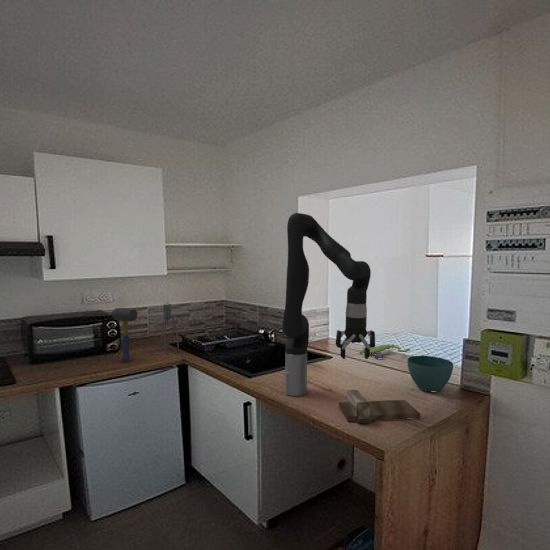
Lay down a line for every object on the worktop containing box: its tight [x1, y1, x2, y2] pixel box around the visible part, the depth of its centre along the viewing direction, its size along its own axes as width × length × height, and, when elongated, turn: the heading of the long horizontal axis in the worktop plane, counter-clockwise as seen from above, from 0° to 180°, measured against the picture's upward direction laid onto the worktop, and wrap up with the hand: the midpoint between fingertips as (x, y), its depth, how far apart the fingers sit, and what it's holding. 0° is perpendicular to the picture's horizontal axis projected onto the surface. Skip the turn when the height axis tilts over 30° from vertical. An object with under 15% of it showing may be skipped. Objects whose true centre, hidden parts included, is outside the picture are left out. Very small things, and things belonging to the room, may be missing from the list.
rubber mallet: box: [111, 307, 138, 362], centre depth 198 cm, size 12×8×30 cm, turn 70°
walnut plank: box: [338, 399, 421, 422], centre depth 131 cm, size 26×12×2 cm, turn 95°
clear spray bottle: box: [160, 302, 180, 355], centre depth 217 cm, size 10×11×30 cm
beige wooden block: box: [346, 389, 371, 424], centre depth 129 cm, size 4×14×6 cm, turn 5°
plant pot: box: [407, 355, 454, 392], centre depth 154 cm, size 18×18×12 cm
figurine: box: [359, 344, 411, 359], centre depth 208 cm, size 18×27×6 cm
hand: (354, 358), depth 132 cm, fingers open, 8 cm apart
